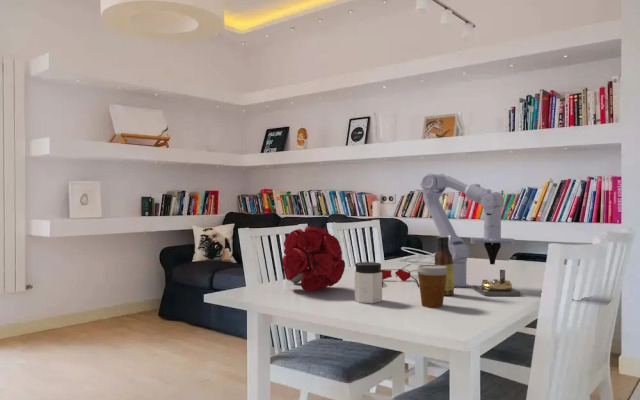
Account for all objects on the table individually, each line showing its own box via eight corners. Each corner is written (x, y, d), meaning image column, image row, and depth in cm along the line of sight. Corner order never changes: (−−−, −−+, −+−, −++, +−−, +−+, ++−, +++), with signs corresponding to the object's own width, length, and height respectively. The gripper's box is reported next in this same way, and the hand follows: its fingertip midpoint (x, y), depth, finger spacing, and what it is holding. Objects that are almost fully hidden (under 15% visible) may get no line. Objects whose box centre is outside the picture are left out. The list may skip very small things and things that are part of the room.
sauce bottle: (455, 293, 177) (455, 236, 177) (452, 296, 171) (452, 237, 171) (436, 292, 180) (436, 235, 180) (432, 295, 174) (432, 236, 174)
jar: (351, 302, 162) (351, 264, 162) (357, 297, 170) (357, 261, 170) (379, 304, 159) (379, 265, 159) (384, 299, 167) (384, 262, 167)
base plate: (484, 296, 173) (484, 291, 173) (474, 289, 185) (474, 285, 185) (520, 296, 173) (520, 291, 172) (507, 289, 185) (507, 285, 184)
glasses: (410, 281, 206) (410, 268, 206) (419, 288, 190) (419, 274, 190) (375, 281, 206) (375, 268, 206) (382, 288, 189) (382, 275, 189)
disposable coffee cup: (414, 302, 162) (414, 264, 162) (444, 302, 162) (444, 264, 162) (419, 308, 153) (419, 268, 153) (451, 308, 153) (451, 268, 153)
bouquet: (270, 305, 189) (298, 274, 166) (264, 247, 200) (290, 210, 177) (323, 304, 198) (357, 275, 175) (314, 248, 209) (346, 214, 186)
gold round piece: (503, 291, 171) (503, 274, 171) (476, 287, 179) (476, 271, 178) (517, 287, 179) (517, 271, 179) (490, 284, 186) (490, 268, 186)
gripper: (472, 226, 180) (472, 265, 181) (515, 227, 178) (515, 266, 178) (470, 225, 187) (470, 262, 187) (512, 225, 184) (512, 263, 184)
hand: (492, 264), depth 183 cm, fingers closed
